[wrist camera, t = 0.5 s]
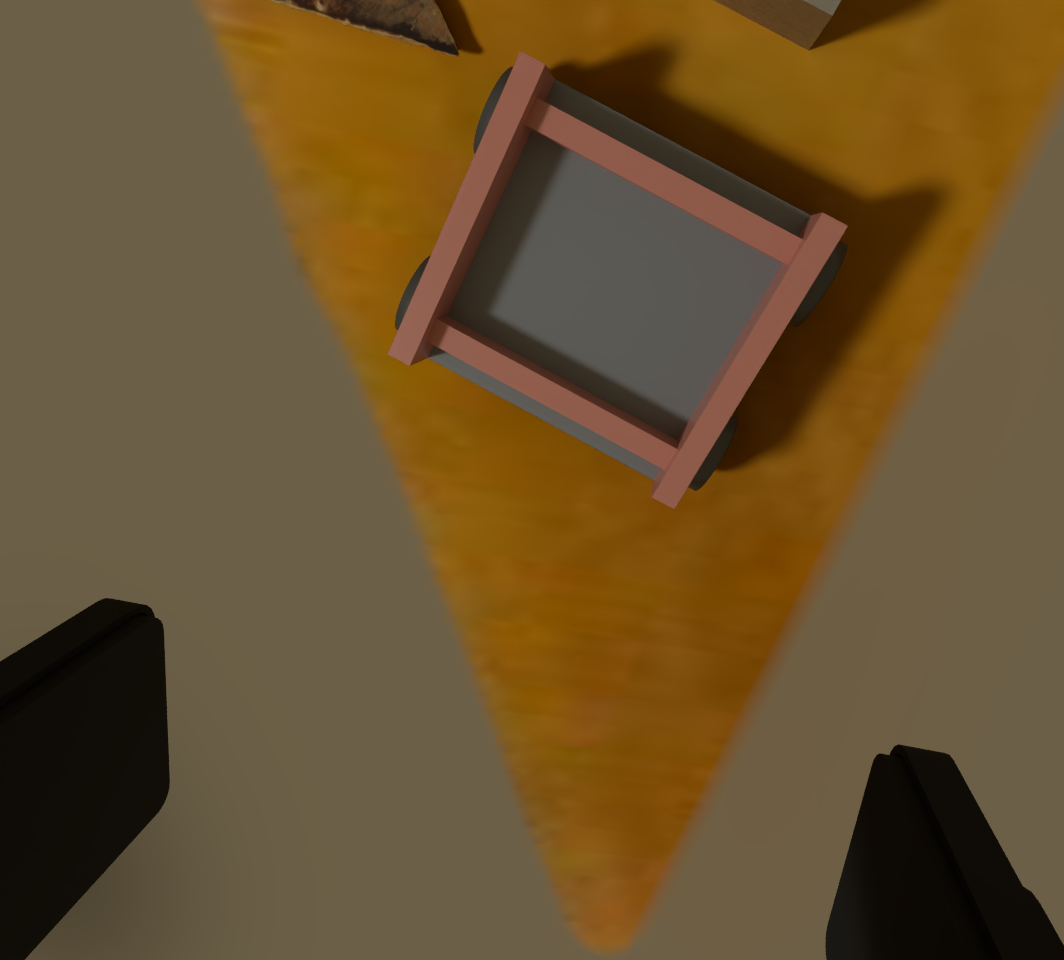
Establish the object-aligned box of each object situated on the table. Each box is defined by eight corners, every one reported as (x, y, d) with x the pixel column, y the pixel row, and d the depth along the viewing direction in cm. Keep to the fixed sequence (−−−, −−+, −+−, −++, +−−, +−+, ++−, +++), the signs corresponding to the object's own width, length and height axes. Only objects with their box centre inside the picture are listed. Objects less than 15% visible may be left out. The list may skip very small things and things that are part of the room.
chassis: (525, 72, 33) (497, 39, 28) (839, 239, 33) (870, 238, 27) (410, 329, 37) (368, 343, 32) (690, 481, 37) (694, 520, 31)
